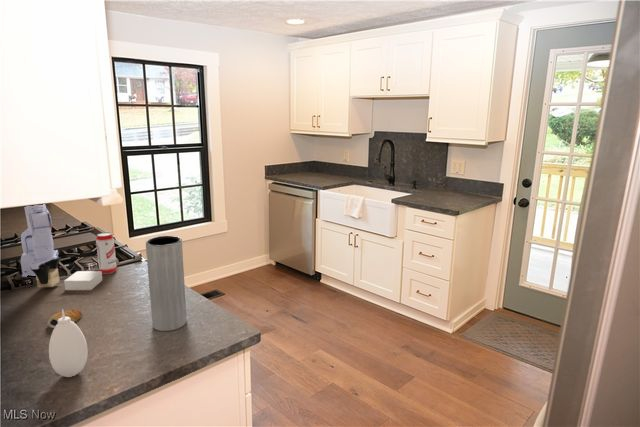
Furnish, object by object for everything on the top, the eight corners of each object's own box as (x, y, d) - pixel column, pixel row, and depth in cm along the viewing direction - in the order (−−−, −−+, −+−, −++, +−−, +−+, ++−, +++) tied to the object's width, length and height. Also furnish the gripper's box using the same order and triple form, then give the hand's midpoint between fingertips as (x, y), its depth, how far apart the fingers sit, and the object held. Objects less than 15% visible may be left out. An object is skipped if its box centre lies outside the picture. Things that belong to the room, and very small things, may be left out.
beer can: (120, 269, 167) (116, 232, 164) (111, 275, 161) (107, 236, 157) (105, 268, 168) (101, 231, 164) (96, 274, 162) (91, 236, 158)
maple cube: (37, 287, 146) (35, 274, 145) (45, 281, 151) (43, 268, 150) (52, 286, 147) (50, 273, 146) (59, 281, 152) (57, 268, 151)
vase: (152, 318, 129) (145, 237, 123) (185, 313, 133) (180, 234, 126) (152, 334, 120) (145, 247, 114) (187, 328, 124) (182, 243, 117)
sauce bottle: (45, 380, 99) (34, 312, 95) (74, 362, 106) (65, 298, 102) (68, 388, 96) (58, 319, 92) (97, 369, 103) (89, 304, 99)
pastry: (71, 313, 131) (69, 302, 130) (88, 316, 130) (87, 305, 129) (45, 327, 123) (43, 316, 122) (63, 331, 121) (62, 319, 120)
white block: (65, 290, 148) (64, 280, 147) (78, 280, 156) (77, 271, 155) (91, 290, 148) (89, 280, 147) (102, 280, 157) (101, 271, 156)
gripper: (44, 251, 139) (49, 288, 142) (64, 238, 153) (69, 272, 156) (22, 252, 138) (28, 289, 141) (44, 239, 152) (49, 272, 155)
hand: (48, 280), depth 149 cm, fingers closed on maple cube, 5 cm apart
